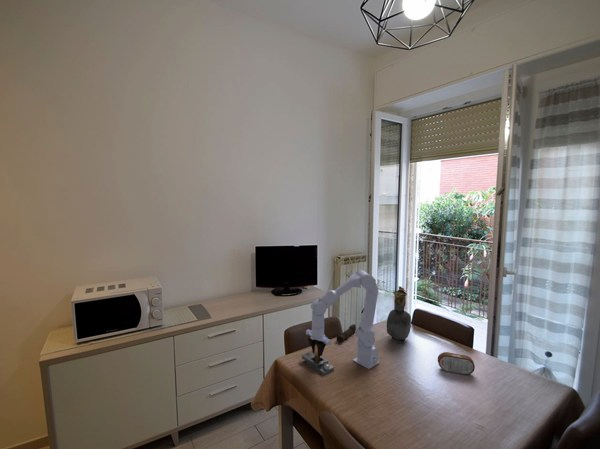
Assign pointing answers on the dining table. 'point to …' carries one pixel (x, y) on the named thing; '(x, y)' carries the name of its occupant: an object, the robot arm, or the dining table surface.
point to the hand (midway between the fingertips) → (317, 354)
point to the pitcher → (399, 318)
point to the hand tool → (346, 333)
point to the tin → (456, 363)
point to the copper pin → (316, 355)
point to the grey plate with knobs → (321, 366)
